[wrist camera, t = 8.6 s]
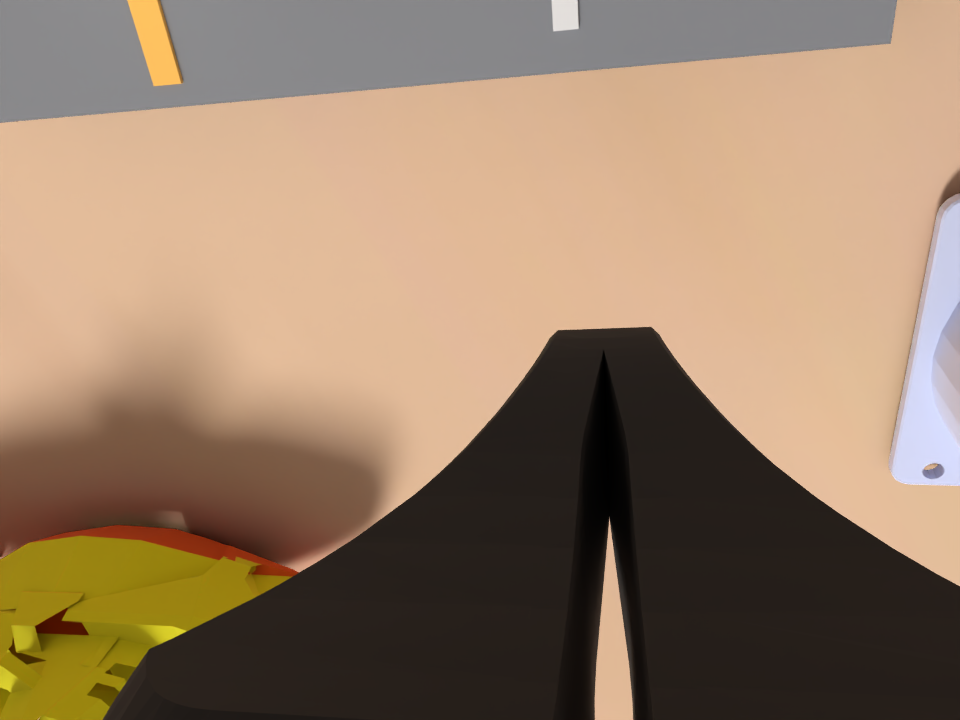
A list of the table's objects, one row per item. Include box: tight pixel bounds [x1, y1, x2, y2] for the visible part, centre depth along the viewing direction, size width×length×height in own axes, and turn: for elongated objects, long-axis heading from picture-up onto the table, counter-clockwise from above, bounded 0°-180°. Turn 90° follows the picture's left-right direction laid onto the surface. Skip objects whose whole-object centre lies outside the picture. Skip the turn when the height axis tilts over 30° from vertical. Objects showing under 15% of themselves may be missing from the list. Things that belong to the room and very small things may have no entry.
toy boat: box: [0, 525, 299, 720], centre depth 24 cm, size 6×18×10 cm, turn 100°
